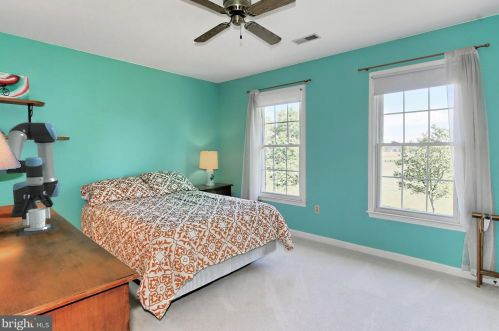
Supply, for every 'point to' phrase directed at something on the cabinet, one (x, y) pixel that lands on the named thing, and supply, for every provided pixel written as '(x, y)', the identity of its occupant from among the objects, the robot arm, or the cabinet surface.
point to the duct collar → (37, 229)
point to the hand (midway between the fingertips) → (37, 221)
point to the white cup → (36, 218)
